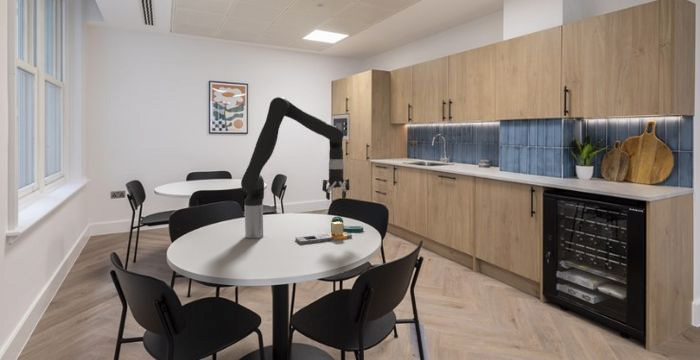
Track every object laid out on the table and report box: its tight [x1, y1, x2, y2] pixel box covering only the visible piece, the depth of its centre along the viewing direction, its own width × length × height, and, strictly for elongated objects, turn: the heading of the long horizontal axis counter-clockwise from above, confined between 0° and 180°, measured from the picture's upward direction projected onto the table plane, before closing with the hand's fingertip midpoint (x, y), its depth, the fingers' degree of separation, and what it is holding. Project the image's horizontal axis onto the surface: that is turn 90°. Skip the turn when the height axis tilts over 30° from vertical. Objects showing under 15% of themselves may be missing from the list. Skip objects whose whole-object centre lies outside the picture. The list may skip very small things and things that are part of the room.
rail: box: [294, 232, 353, 245], centre depth 202 cm, size 8×28×2 cm, turn 116°
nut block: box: [331, 222, 344, 237], centre depth 205 cm, size 4×4×8 cm
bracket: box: [330, 215, 364, 233], centre depth 220 cm, size 18×7×8 cm, turn 91°
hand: (336, 199), depth 203 cm, fingers open, 8 cm apart
